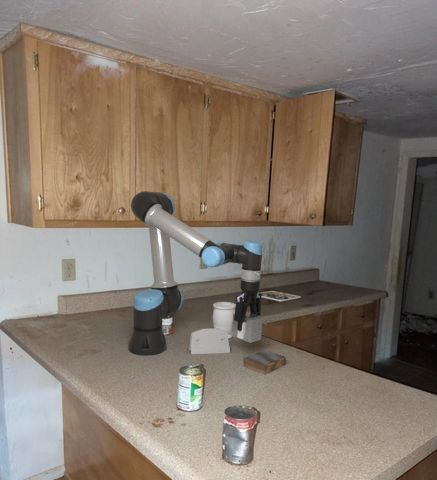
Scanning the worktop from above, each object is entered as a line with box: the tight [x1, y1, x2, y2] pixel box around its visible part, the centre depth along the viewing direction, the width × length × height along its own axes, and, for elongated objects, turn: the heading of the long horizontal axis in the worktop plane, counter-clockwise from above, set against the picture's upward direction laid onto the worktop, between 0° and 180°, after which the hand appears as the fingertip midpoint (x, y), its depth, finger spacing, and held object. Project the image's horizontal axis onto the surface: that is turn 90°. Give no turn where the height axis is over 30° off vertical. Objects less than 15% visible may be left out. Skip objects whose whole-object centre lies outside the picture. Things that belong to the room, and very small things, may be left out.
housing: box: [232, 311, 264, 344], centre depth 153 cm, size 6×10×11 cm, turn 46°
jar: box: [212, 301, 236, 340], centre depth 175 cm, size 11×10×15 cm
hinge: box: [188, 327, 231, 355], centre depth 158 cm, size 17×5×10 cm, turn 101°
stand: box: [242, 349, 287, 376], centre depth 144 cm, size 13×10×3 cm
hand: (246, 336), depth 154 cm, fingers closed on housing, 6 cm apart
